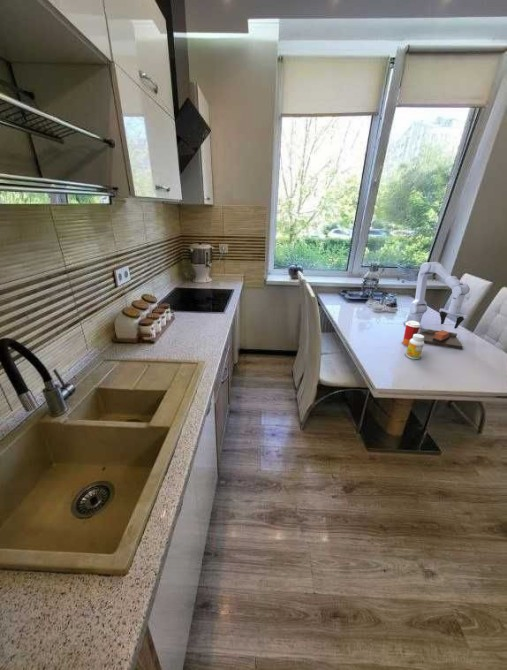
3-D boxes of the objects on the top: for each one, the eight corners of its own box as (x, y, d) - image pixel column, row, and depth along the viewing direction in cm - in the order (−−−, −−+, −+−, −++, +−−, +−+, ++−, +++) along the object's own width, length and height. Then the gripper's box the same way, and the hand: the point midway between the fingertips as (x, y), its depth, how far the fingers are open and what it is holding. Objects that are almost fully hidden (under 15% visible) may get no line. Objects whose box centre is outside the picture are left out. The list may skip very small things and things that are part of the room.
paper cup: (413, 342, 169) (419, 321, 163) (416, 347, 162) (422, 326, 156) (399, 340, 171) (405, 319, 165) (401, 345, 164) (407, 324, 159)
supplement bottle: (403, 353, 156) (409, 332, 151) (415, 353, 156) (421, 333, 151) (409, 359, 150) (415, 338, 144) (422, 359, 149) (428, 338, 144)
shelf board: (423, 343, 168) (425, 337, 166) (419, 333, 181) (421, 327, 180) (461, 349, 161) (464, 343, 160) (454, 338, 175) (456, 333, 173)
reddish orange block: (440, 342, 165) (442, 335, 163) (432, 339, 168) (434, 333, 166) (449, 338, 170) (451, 331, 168) (441, 335, 174) (443, 329, 172)
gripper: (472, 307, 160) (465, 328, 165) (446, 300, 171) (439, 321, 176) (467, 309, 156) (459, 331, 162) (440, 302, 167) (433, 323, 173)
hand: (448, 326), depth 169 cm, fingers open, 7 cm apart
